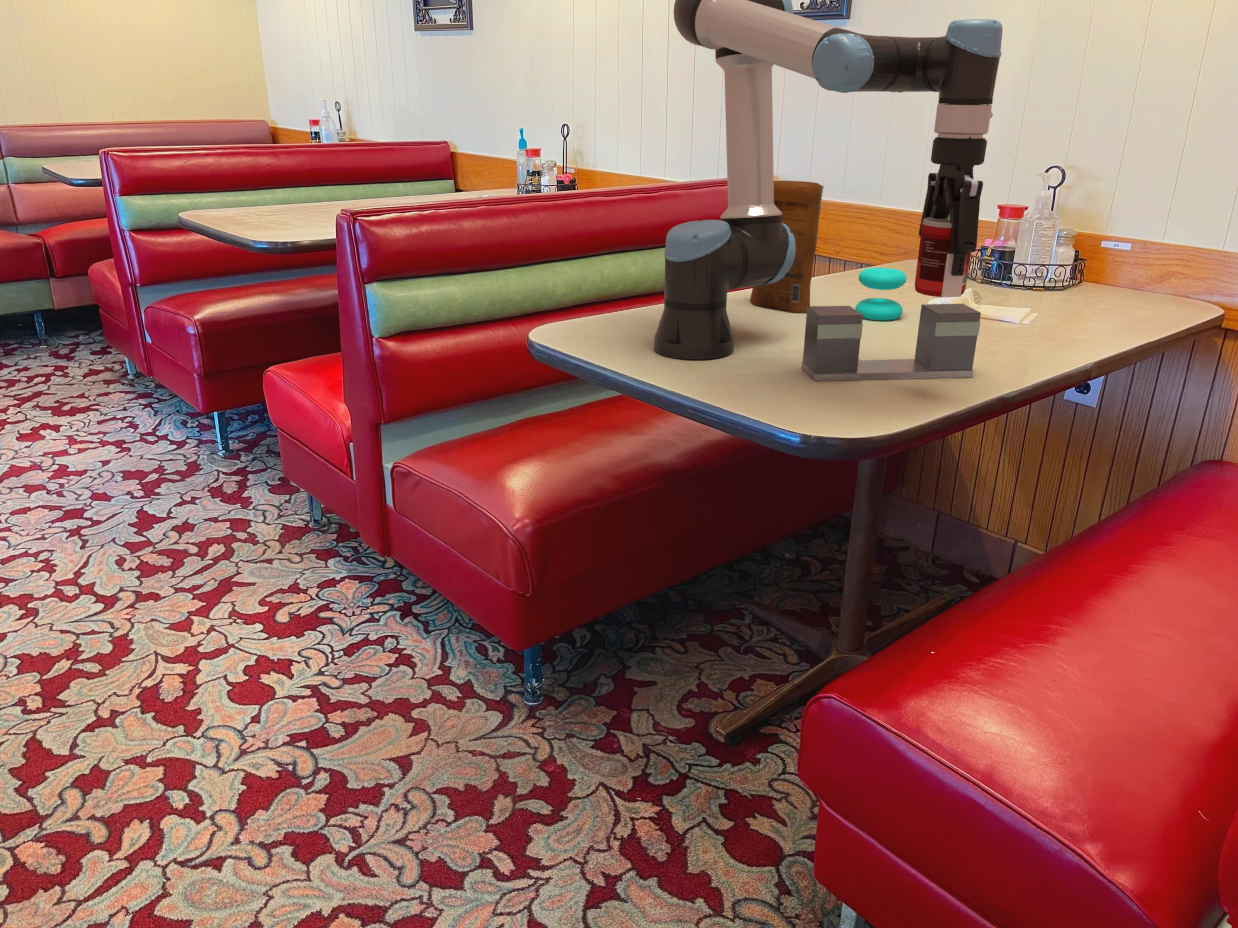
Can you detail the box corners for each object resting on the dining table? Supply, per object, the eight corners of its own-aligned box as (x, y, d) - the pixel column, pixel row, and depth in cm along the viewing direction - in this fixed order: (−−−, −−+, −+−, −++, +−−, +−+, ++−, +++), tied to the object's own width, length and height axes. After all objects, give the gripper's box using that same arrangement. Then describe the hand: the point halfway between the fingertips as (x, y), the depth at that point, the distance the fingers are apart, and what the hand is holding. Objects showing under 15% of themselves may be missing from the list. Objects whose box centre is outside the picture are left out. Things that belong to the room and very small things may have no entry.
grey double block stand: (814, 381, 158) (819, 316, 153) (801, 368, 165) (806, 305, 161) (972, 377, 160) (982, 313, 156) (952, 364, 168) (961, 303, 163)
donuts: (906, 268, 202) (908, 276, 193) (900, 313, 206) (902, 323, 197) (859, 265, 204) (859, 274, 195) (854, 310, 208) (854, 320, 199)
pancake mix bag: (804, 317, 202) (815, 183, 191) (734, 304, 214) (740, 177, 203) (821, 312, 206) (832, 181, 196) (751, 299, 218) (758, 175, 208)
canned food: (953, 287, 149) (964, 216, 144) (973, 297, 141) (984, 224, 137) (906, 287, 148) (915, 216, 144) (923, 297, 141) (933, 223, 137)
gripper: (1020, 140, 127) (993, 305, 135) (954, 132, 146) (935, 277, 155) (967, 140, 126) (943, 305, 135) (908, 132, 145) (891, 278, 154)
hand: (939, 290), depth 145 cm, fingers closed on canned food, 8 cm apart
